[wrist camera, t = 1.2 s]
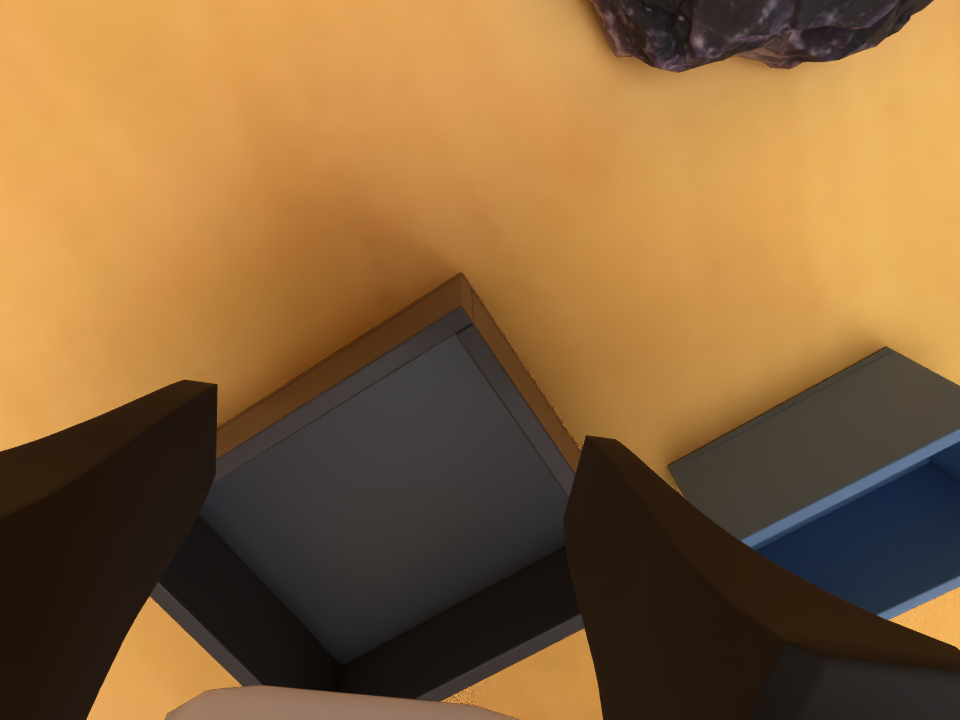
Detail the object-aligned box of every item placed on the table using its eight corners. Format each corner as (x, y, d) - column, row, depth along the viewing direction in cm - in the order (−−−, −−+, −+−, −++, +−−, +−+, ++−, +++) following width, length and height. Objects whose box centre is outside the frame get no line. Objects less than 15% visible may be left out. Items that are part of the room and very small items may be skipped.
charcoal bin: (626, 519, 24) (656, 593, 20) (341, 671, 26) (320, 763, 23) (461, 270, 21) (461, 304, 17) (150, 470, 23) (89, 538, 19)
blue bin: (886, 345, 22) (1001, 407, 17) (936, 458, 24) (1053, 543, 19) (666, 465, 23) (717, 552, 19) (727, 564, 25) (787, 667, 20)
